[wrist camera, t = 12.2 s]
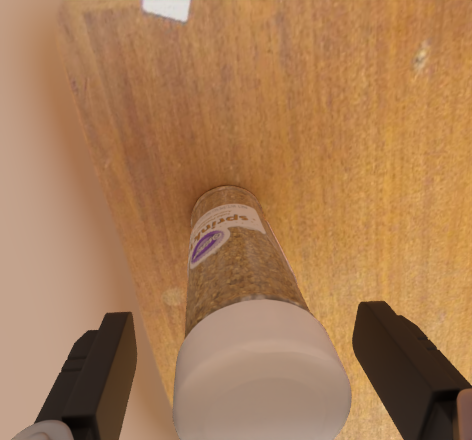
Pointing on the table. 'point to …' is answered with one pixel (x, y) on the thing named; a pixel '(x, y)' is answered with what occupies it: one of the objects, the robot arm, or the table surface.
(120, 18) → the table surface
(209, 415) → the sprinkles bottle
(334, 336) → the table surface
